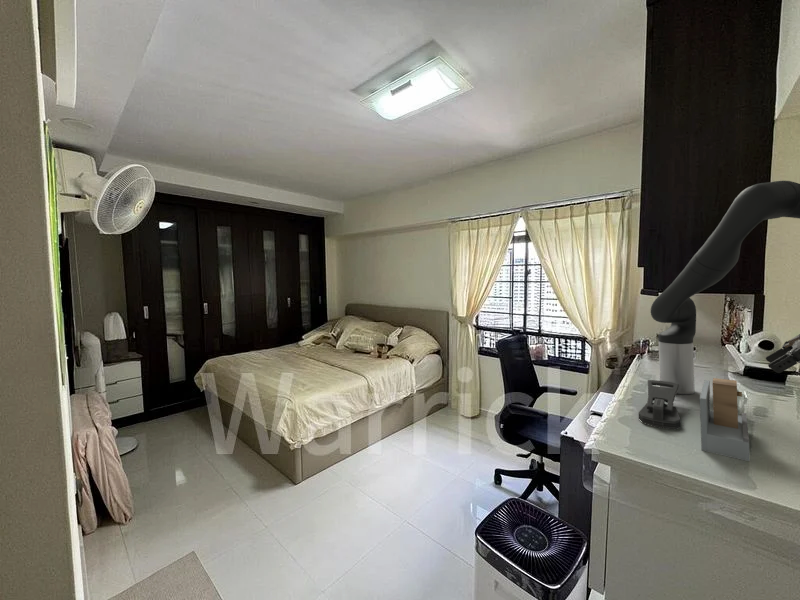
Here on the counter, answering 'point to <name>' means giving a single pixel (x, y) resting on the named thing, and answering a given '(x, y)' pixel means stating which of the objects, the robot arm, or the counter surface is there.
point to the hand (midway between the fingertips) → (770, 365)
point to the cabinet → (725, 402)
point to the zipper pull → (661, 406)
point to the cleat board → (722, 431)
